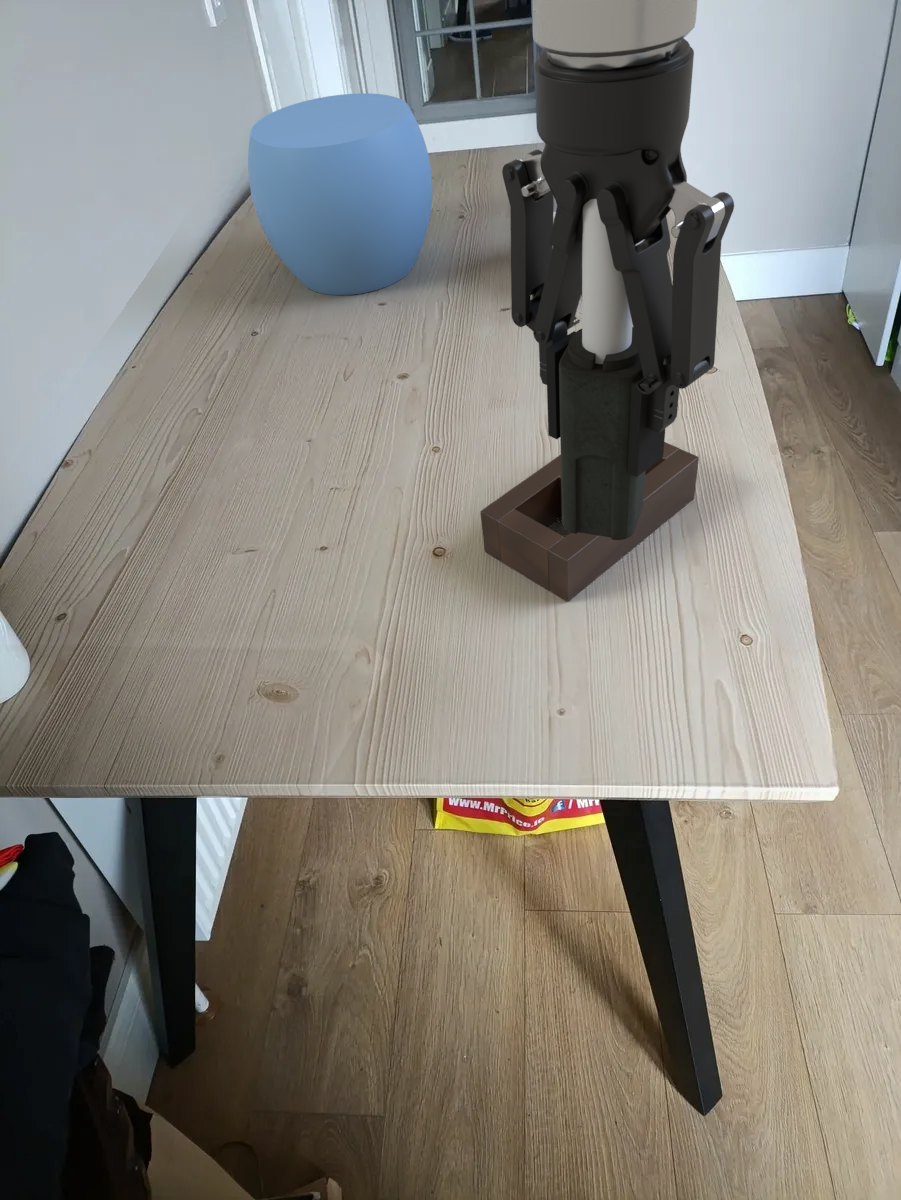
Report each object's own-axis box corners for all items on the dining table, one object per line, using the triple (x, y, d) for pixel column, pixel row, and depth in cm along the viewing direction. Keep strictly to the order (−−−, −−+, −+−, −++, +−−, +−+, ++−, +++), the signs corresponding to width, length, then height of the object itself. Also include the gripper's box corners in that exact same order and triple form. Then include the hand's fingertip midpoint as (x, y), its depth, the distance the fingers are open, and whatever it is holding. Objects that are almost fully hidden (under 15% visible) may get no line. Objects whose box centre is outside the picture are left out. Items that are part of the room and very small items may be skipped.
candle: (646, 497, 63) (672, 117, 45) (630, 543, 60) (651, 153, 42) (577, 487, 65) (575, 116, 47) (558, 531, 61) (548, 151, 44)
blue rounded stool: (429, 304, 120) (408, 145, 105) (255, 312, 124) (211, 160, 109) (450, 227, 137) (434, 82, 123) (296, 237, 141) (264, 97, 127)
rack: (694, 498, 85) (699, 456, 82) (567, 602, 77) (566, 561, 74) (610, 459, 91) (611, 418, 88) (484, 551, 83) (480, 511, 80)
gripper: (842, 43, 38) (763, 472, 54) (520, 7, 49) (535, 375, 65) (743, 94, 35) (691, 534, 51) (421, 44, 45) (463, 422, 62)
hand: (604, 445), depth 58 cm, fingers closed on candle, 6 cm apart
